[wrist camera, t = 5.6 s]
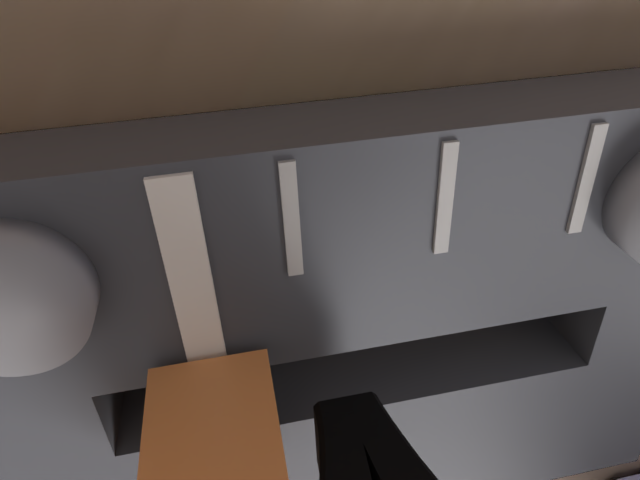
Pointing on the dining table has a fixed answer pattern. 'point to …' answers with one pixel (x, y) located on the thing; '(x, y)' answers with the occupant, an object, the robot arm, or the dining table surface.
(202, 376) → the fader tab
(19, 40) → the dining table surface
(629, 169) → the console board
